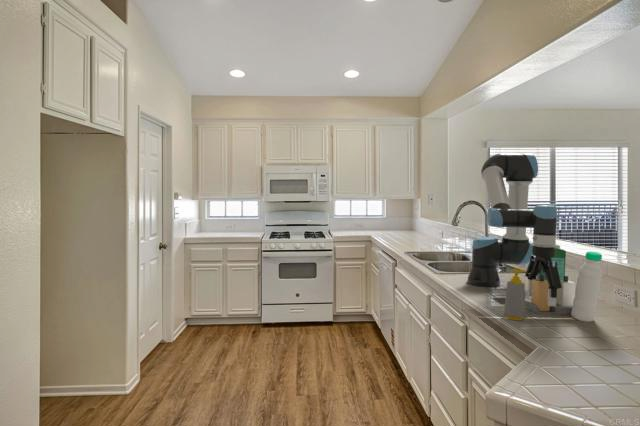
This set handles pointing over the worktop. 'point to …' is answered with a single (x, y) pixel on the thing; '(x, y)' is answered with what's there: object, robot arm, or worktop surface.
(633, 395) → the worktop surface
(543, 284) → the plug
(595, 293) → the water bottle
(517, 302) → the soap bottle
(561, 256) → the milk carton
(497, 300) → the mat
